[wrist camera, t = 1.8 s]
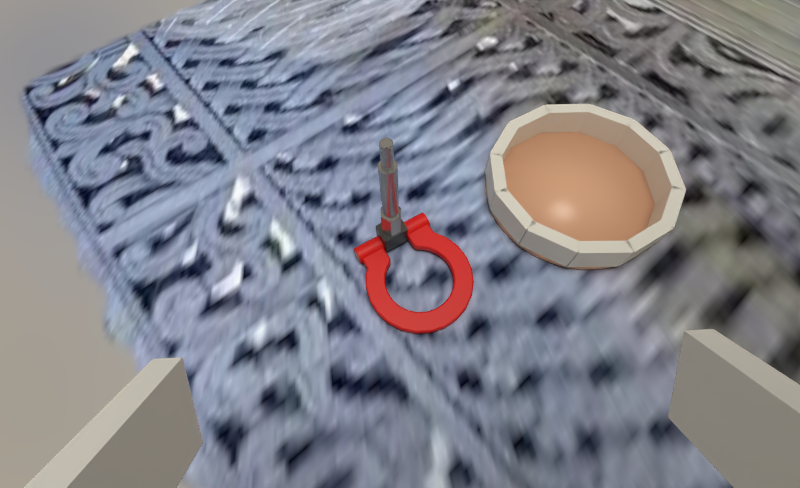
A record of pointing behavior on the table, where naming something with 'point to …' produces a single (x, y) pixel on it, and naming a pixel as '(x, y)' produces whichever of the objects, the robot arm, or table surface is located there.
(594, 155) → the round tray
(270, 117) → the table surface
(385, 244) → the tow hook
